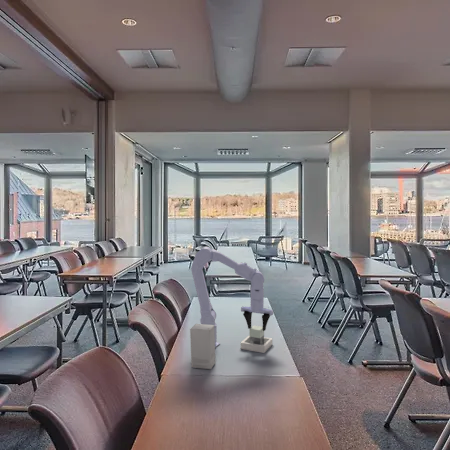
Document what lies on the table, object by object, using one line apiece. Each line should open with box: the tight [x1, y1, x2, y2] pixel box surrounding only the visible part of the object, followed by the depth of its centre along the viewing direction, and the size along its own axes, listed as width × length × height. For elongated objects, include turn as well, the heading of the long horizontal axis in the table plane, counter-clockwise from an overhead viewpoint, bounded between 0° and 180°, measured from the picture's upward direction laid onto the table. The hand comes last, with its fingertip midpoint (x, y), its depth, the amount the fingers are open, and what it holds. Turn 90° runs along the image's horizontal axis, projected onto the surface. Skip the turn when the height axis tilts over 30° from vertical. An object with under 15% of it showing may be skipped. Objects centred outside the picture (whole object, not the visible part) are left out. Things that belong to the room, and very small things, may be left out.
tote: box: [240, 335, 273, 354], centre depth 167 cm, size 11×11×3 cm
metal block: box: [250, 334, 265, 345], centre depth 167 cm, size 5×5×4 cm
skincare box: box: [189, 323, 216, 370], centre depth 147 cm, size 8×7×16 cm
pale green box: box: [248, 325, 265, 338], centre depth 167 cm, size 5×5×4 cm
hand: (256, 329), depth 167 cm, fingers open, 6 cm apart
